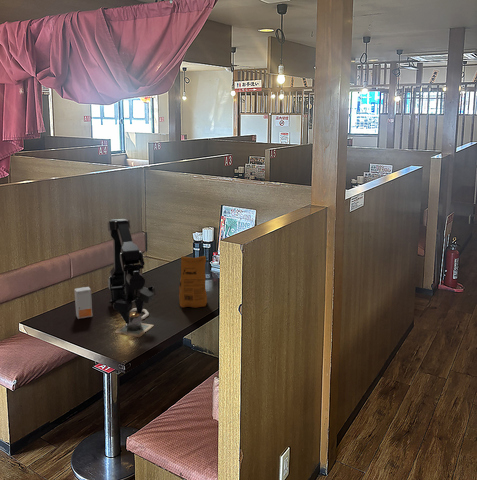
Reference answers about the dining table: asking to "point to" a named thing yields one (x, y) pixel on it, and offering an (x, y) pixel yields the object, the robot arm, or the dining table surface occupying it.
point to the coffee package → (192, 282)
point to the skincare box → (83, 302)
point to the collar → (142, 311)
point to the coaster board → (138, 333)
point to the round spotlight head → (134, 322)
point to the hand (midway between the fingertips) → (133, 319)
